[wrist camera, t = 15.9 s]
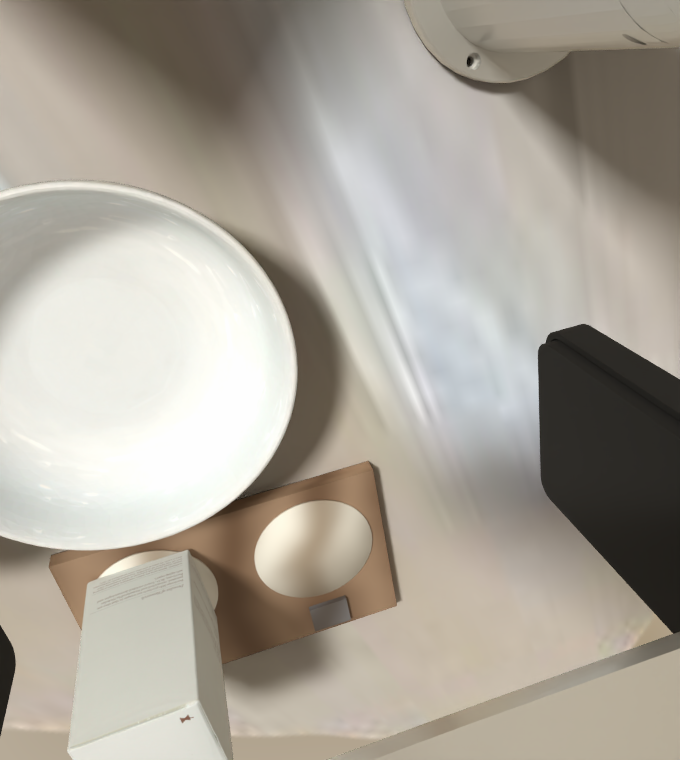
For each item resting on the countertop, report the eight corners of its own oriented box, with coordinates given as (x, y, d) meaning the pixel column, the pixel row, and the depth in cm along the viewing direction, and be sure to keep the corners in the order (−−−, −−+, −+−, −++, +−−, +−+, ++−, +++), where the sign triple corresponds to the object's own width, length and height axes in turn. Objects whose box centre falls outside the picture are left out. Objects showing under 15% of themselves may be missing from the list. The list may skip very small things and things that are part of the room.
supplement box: (84, 580, 44) (61, 750, 33) (190, 546, 45) (203, 700, 34) (120, 651, 48) (112, 827, 37) (218, 618, 49) (238, 779, 38)
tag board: (368, 461, 48) (374, 472, 46) (392, 595, 54) (398, 609, 53) (51, 555, 44) (47, 571, 43) (117, 686, 51) (116, 704, 50)
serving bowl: (213, 512, 46) (222, 578, 40) (-125, 442, 38) (-176, 512, 32) (329, 243, 40) (360, 275, 34) (-46, 91, 32) (-91, 98, 26)
